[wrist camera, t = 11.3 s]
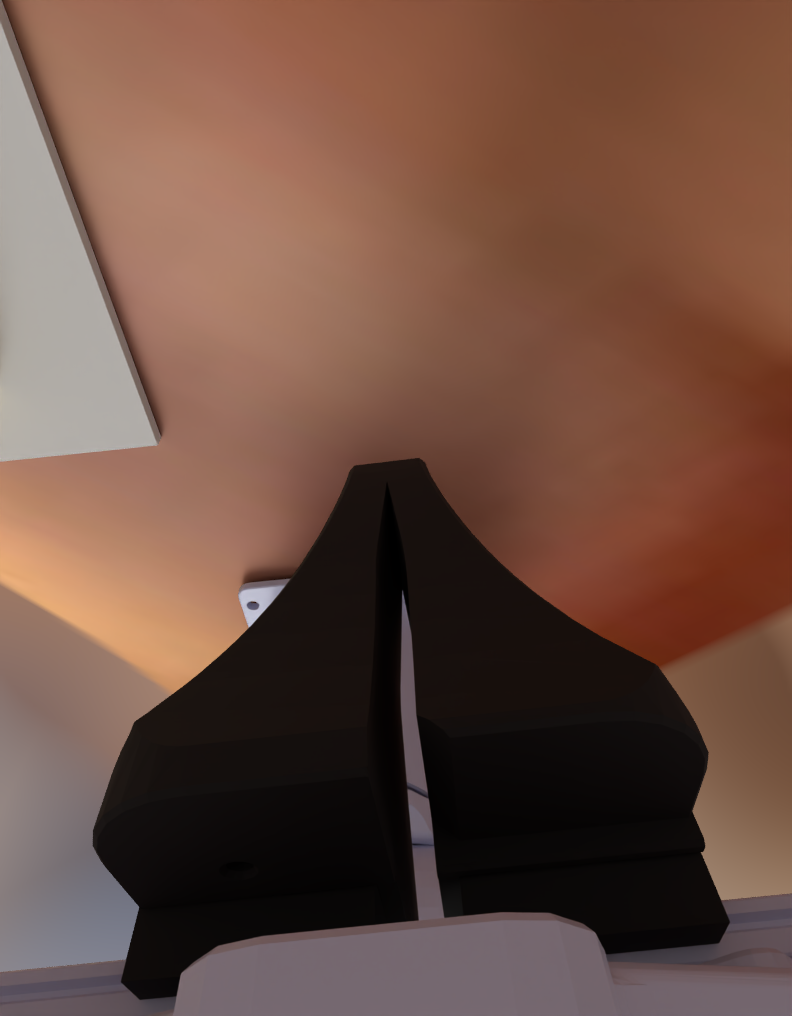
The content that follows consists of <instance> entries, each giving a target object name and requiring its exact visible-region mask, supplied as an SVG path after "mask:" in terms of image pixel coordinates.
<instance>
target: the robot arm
mask: <svg viewBox="0 0 792 1016" xmlns="http://www.w3.org/2000/svg"><path fill="white" fill-rule="evenodd" d="M238 597H239V600H240V603H241V606H242V609H243V612H244V615H245V618H246V621H247V624H248V627H249V628H248V629H247V630H246V631H245V632H244V633H243V634H242V635H241V636H240V637H239V638H238V639H237V640H236V641H235V642H234V643H233V644H232V645H231V646H230V647H229V648H228V649H227V650H226V651H225V652H223V653H222V654H221V655H220V656H219V657H218V658H217V659H216V660H214V661H213V662H212V663H211V664H210V665H209V666H207V667H206V668H205V669H204V670H203V671H202V672H200V673H199V674H198V675H197V676H196V677H194V678H193V679H192V680H191V681H189V682H188V683H187V684H186V685H184V686H183V687H182V688H180V689H179V690H177V691H176V692H175V693H173V694H172V695H171V696H169V697H168V698H167V699H165V700H164V701H163V702H161V703H160V704H159V705H157V706H156V707H155V708H153V709H152V710H151V711H150V712H148V713H147V714H145V715H144V716H142V717H141V718H139V719H138V720H136V721H135V722H134V724H133V727H132V730H131V732H130V734H129V736H128V738H127V740H126V742H125V744H124V747H123V748H122V750H121V752H120V755H119V757H118V760H117V762H116V765H115V767H114V770H113V773H112V775H111V779H110V782H109V784H108V788H107V790H106V793H105V796H104V799H103V802H102V805H101V808H100V811H99V814H98V817H97V820H96V823H95V826H94V829H93V847H94V849H95V851H96V853H97V855H98V856H99V858H100V860H101V862H102V863H103V864H104V866H105V867H106V868H107V869H108V870H109V872H110V873H111V874H112V875H113V877H114V878H115V879H116V880H117V881H118V882H119V884H120V885H121V886H122V887H123V888H124V889H125V891H126V892H127V893H128V894H129V895H130V896H131V898H132V899H133V900H134V901H135V902H136V904H137V905H138V906H139V911H138V915H137V919H136V923H135V927H134V931H133V935H132V939H131V942H130V947H129V950H128V955H127V958H126V960H118V961H108V962H98V963H87V964H77V965H67V966H58V967H47V968H37V969H27V970H17V971H8V972H0V1016H792V894H782V895H771V896H761V897H752V898H741V899H732V900H721V899H720V897H719V895H718V892H717V889H716V887H715V885H714V882H713V880H712V878H711V875H710V873H709V871H708V868H707V866H706V864H705V861H704V859H703V856H702V854H701V852H703V851H704V849H705V842H704V837H703V835H702V833H701V831H700V828H699V826H698V824H697V821H696V819H695V817H694V815H693V812H692V810H693V807H694V805H695V801H696V799H697V796H698V793H699V790H700V787H701V784H702V781H703V778H704V775H705V773H706V770H707V763H708V750H707V748H706V745H705V743H704V741H703V739H702V736H701V734H700V731H699V729H698V727H697V725H696V723H695V721H694V719H693V718H692V716H691V714H690V712H689V711H688V709H687V708H686V706H685V705H684V703H683V702H682V700H681V699H680V697H679V696H678V694H677V693H676V691H675V690H674V688H673V687H672V685H671V684H670V683H669V681H668V680H667V678H666V677H665V675H664V674H663V673H662V671H661V670H660V669H659V667H658V666H657V665H656V664H654V663H652V662H650V661H648V660H646V659H644V658H642V657H640V656H638V655H636V654H634V653H632V652H630V651H628V650H626V649H625V648H623V647H621V646H619V645H617V644H615V643H613V642H611V641H609V640H607V639H605V638H603V637H601V636H599V635H598V634H596V633H594V632H593V631H591V630H589V629H588V628H586V627H584V626H583V625H581V624H579V623H578V622H576V621H574V620H573V619H571V618H570V617H568V616H567V615H566V614H564V613H563V612H561V611H560V610H559V609H557V608H556V607H554V606H553V605H552V604H550V603H549V602H547V601H546V600H545V599H543V598H542V597H540V596H539V595H537V594H536V593H535V592H534V591H532V590H531V589H530V588H529V587H528V586H526V585H525V584H524V583H523V582H522V581H520V580H519V579H518V578H517V577H515V576H514V575H513V574H512V573H511V572H510V571H509V570H508V569H507V568H506V567H504V566H503V565H502V564H501V563H500V562H499V561H498V560H497V559H496V558H495V557H494V556H493V555H492V554H491V553H490V552H489V551H488V550H487V549H486V548H485V547H484V546H483V545H482V544H481V543H480V541H479V540H478V539H477V538H476V537H475V536H474V535H473V534H472V533H471V531H470V530H469V529H468V528H467V527H466V525H465V524H464V523H463V522H462V521H461V519H460V518H459V517H458V515H457V514H456V513H455V511H454V510H453V509H452V508H451V506H450V505H449V504H448V502H447V501H446V499H445V498H444V496H443V495H442V493H441V492H440V490H439V489H438V487H437V486H436V484H435V482H434V481H433V479H432V477H431V475H430V473H429V471H428V469H427V467H426V464H425V462H423V461H422V460H421V459H420V458H415V459H407V460H399V461H390V462H382V463H373V464H365V465H356V466H354V467H353V468H352V469H351V470H350V472H349V475H348V478H347V480H346V483H345V485H344V488H343V490H342V492H341V495H340V497H339V499H338V501H337V503H336V505H335V507H334V509H333V511H332V513H331V515H330V517H329V518H328V520H327V522H326V524H325V526H324V528H323V530H322V531H321V533H320V535H319V537H318V538H317V540H316V541H315V543H314V545H313V546H312V548H311V549H310V551H309V552H308V554H307V556H306V557H305V559H304V560H303V562H302V563H301V565H300V566H299V568H298V569H297V570H296V572H295V573H294V575H293V576H292V577H291V578H290V579H280V580H271V581H261V582H251V583H246V584H243V585H242V586H241V587H240V589H239V593H238ZM251 601H255V602H257V603H251Z"/></svg>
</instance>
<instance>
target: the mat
mask: <svg viewBox="0 0 792 1016" xmlns="http://www.w3.org/2000/svg"><path fill="white" fill-rule="evenodd" d="M160 439H161V436H160V433H159V430H158V427H157V425H156V422H155V419H154V416H153V414H152V411H151V408H150V405H149V403H148V400H147V397H146V394H145V392H144V389H143V386H142V384H141V381H140V378H139V375H138V373H137V370H136V367H135V364H134V362H133V359H132V356H131V353H130V351H129V348H128V345H127V342H126V340H125V337H124V334H123V331H122V329H121V326H120V323H119V320H118V318H117V315H116V312H115V309H114V307H113V304H112V301H111V299H110V296H109V293H108V290H107V288H106V285H105V282H104V279H103V277H102V274H101V271H100V268H99V266H98V263H97V260H96V257H95V255H94V252H93V249H92V246H91V244H90V241H89V238H88V235H87V233H86V230H85V227H84V224H83V222H82V219H81V216H80V214H79V211H78V208H77V205H76V203H75V200H74V197H73V194H72V192H71V189H70V186H69V183H68V181H67V178H66V175H65V172H64V170H63V167H62V164H61V161H60V159H59V156H58V153H57V150H56V148H55V145H54V142H53V139H52V137H51V134H50V131H49V128H48V126H47V123H46V120H45V118H44V115H43V112H42V109H41V107H40V104H39V101H38V98H37V96H36V93H35V90H34V87H33V85H32V82H31V79H30V76H29V74H28V71H27V68H26V65H25V63H24V60H23V57H22V54H21V52H20V49H19V46H18V43H17V41H16V38H15V35H14V33H13V30H12V27H11V24H10V22H9V19H8V16H7V13H6V11H5V8H4V5H3V2H2V0H0V462H1V461H11V460H21V459H30V458H40V457H49V456H59V455H69V454H78V453H88V452H97V451H107V450H116V449H126V448H136V447H145V446H155V445H158V444H159V442H160Z"/></svg>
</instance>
